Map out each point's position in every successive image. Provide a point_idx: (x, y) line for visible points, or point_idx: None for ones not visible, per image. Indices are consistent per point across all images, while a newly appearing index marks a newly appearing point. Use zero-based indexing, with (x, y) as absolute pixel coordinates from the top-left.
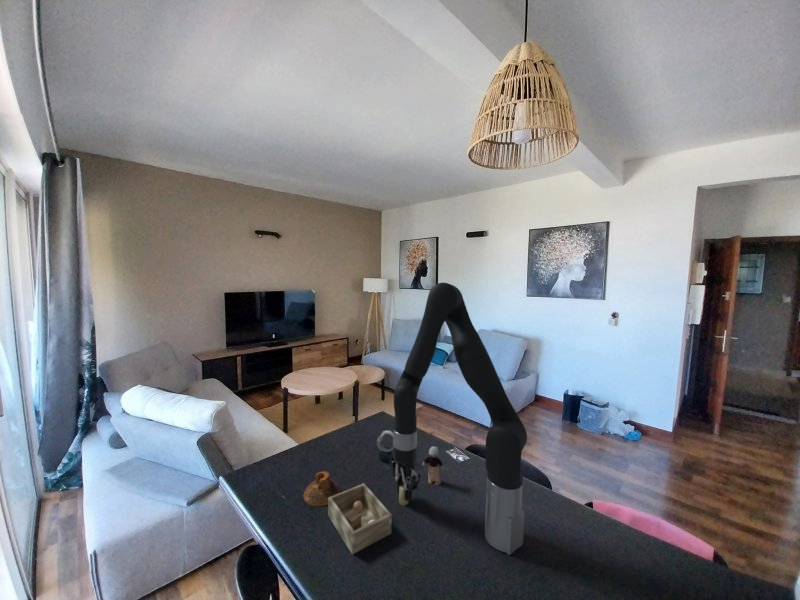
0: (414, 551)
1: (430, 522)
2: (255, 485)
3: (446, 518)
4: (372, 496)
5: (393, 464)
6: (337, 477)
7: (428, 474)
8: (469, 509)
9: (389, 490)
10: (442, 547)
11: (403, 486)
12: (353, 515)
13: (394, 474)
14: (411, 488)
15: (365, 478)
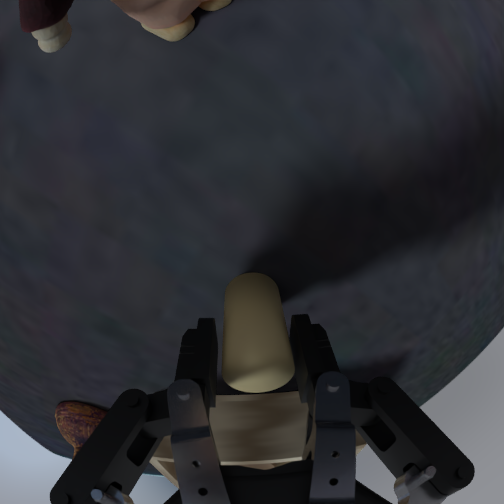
0: (428, 351)
1: (421, 254)
2: (63, 449)
3: (455, 178)
4: (238, 464)
5: (127, 489)
6: (33, 380)
7: (141, 19)
8: (473, 51)
9: (122, 301)
10: (482, 282)
11: (246, 372)
12: (258, 467)
13: (163, 436)
14: (389, 429)
15: (34, 332)
